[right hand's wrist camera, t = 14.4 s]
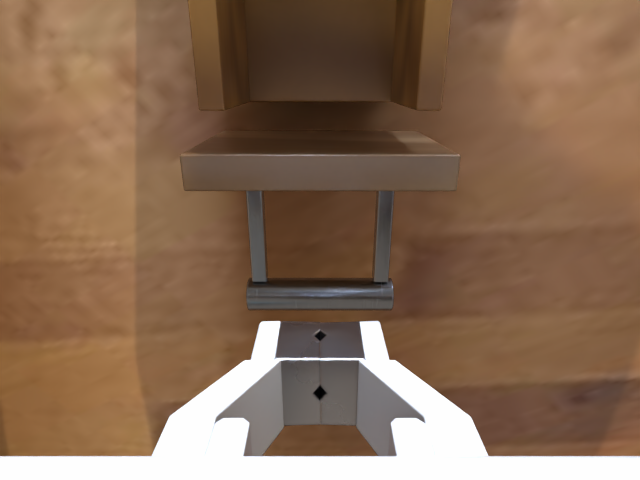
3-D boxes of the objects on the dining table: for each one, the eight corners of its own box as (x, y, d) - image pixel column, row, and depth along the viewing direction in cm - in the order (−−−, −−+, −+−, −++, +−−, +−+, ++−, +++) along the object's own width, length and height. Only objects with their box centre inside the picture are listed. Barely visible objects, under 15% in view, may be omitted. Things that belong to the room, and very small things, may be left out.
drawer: (406, 265, 21) (438, 336, 15) (234, 264, 21) (201, 335, 15) (457, -341, 13) (565, -667, 8) (183, -341, 13) (76, -667, 8)
